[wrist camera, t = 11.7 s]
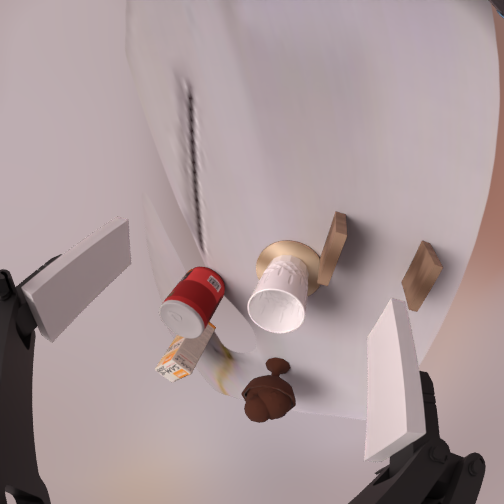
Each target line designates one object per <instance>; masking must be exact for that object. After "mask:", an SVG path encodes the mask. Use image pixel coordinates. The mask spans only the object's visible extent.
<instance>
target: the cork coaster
mask: <svg viewBox="0 0 504 504" xmlns="http://www.w3.org/2000/svg"><path fill="white" fill-rule="evenodd" d="M280 255H292V256H295V257H297V258H299V259H301V260H302V262H303V263H304V264H305V265H306V266H307V270H308V273H309V276H308V294H307V296H309V295H311V294H313V293H314V292H315V291H316V290H317V289H318V288H319V286H320V284H318V283H317V281H318V273H319V265H320V258H319V256H318V255H317V254H316V253H315V252H314V251H313V250H312V249H311V248H310V247H308V246H307V245H305V244H302V243H300V242H296V241H289V240H286V241H279V242H275V243H273V244H271V245H269V246H268V247H266V248H265V249H264V250H263V251H262V253H261V254H260V256H259V258H258V260H257V265H256V272H257V276H258V279H259V280H260V278H261V277H262V275H263V273H264V271H265V270H266V268H267V266H268V264H269V263H270V262H271V261H272V260H273V259H274V258H276V257H278V256H280Z"/></svg>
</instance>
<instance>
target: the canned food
mask: <svg viewBox="0 0 504 504" xmlns="http://www.w3.org/2000/svg"><path fill="white" fill-rule="evenodd" d="M224 291H225V286H224V282H223V280H222V279H221V277H220V276H219V275H218V274H217V273H216V272H214V271H213V270H211V269H209V268H206V267H195V268H193V269H191V270H189V271H188V272H187V273H186V275H185V276H184V277H183V278H182V280H181V281H180V282H179V283H178V284H177V286H176V287H175V288H174V289H173V291H172V292H171V293H170V294H169V296H168V297H167V298H166V299H165V301H164V302H163V303H162V305H161V307H160V309H159V315H160V318H161V320H162V322H163V323H164V324H165V326H166V327H167V328H168V329H170V330H171V331H172V332H174V333H175V334H177V335H179V336H181V337H184V338H190V339H193V338H197V337H199V336H200V335H201V334H202V333H203V332H204V330H205V328H206V327H207V325H208V323H209V321H210V319H211V318H212V316H213V314H214V312H215V310H216V308H217V307H218V305H219V303H220V301H221V300H222V298H223V296H224Z"/></svg>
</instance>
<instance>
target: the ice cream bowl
mask: <svg viewBox="0 0 504 504" xmlns="http://www.w3.org/2000/svg"><path fill="white" fill-rule="evenodd" d="M266 367H267V369H268V370H269V371H271V372H272V374H271V375H267V376H261V377H257V378H254V379H253V380H252V381H250V383H249V384H248V385H247V386H246V388H245V389H244V391H243V392H242V396H243V398H244V399H245V401H246V404H245V408H244V409H245V413H246V415H247V416H248V418H249V419H250V420H251V421H255V422H259V423H260V422H265V421H266V420H268V419H271V420H273V419H278V418H280V417H283V416H285V414H286V413H287V412H288V411H289V410H291V409H292V408H293V407H294V406H295V405H296V401H295V396H294V393H293V390H292V387H291V386H290V384H289V383H287V382H286V381H284V380H283V379H281V378H280V377H279V375H280V374H285V373H287V372H288V370H289V369H290V365H289V363H288V362H287V361H285V360H284V359H280V358H271V359H268V361H267V362H266Z"/></svg>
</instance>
